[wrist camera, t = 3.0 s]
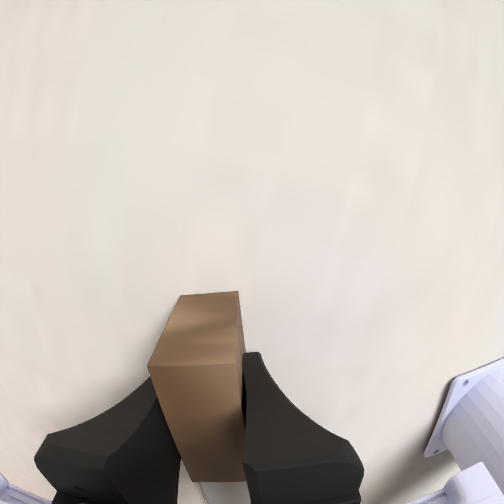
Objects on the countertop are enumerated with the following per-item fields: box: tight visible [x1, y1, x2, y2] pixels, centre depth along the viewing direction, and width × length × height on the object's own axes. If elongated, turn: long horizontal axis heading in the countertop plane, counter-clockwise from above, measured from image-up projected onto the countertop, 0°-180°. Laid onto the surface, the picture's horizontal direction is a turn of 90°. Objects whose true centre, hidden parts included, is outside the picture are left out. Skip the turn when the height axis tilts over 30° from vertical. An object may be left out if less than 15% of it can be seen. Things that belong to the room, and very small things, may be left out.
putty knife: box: [147, 291, 251, 504], centre depth 13 cm, size 5×22×5 cm, turn 5°
